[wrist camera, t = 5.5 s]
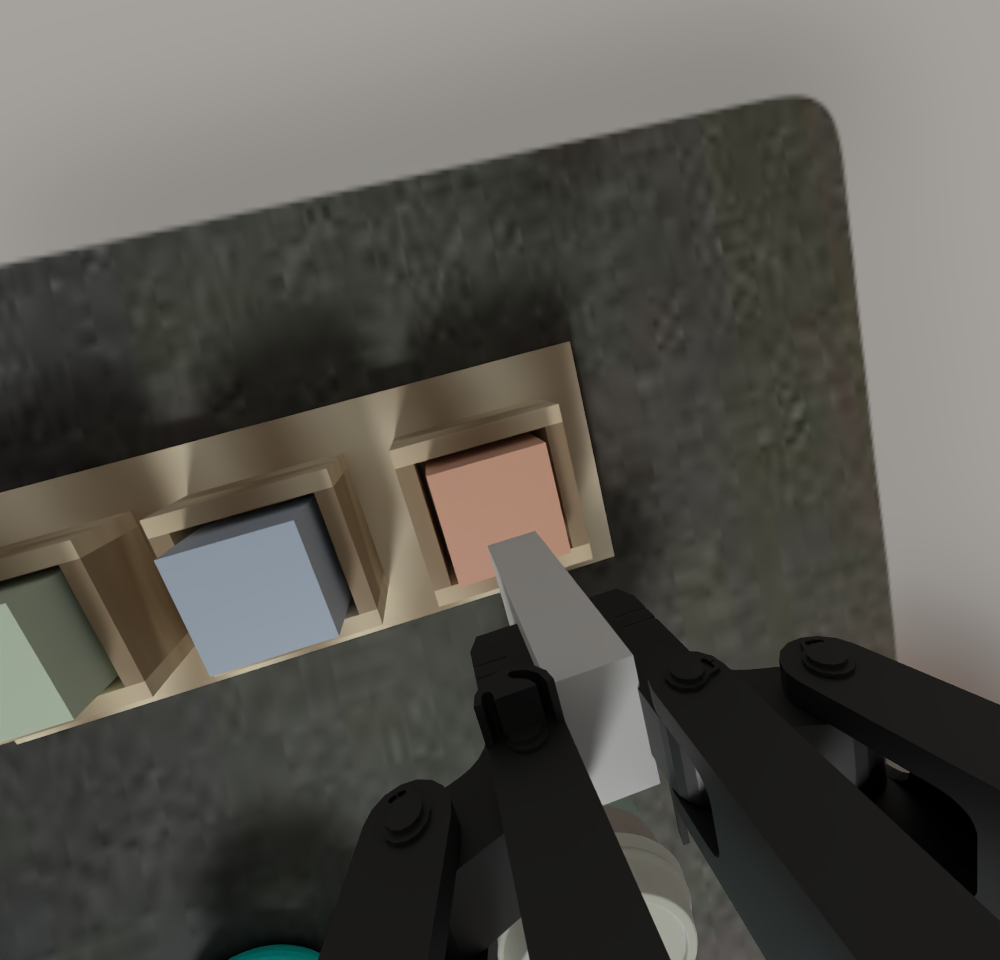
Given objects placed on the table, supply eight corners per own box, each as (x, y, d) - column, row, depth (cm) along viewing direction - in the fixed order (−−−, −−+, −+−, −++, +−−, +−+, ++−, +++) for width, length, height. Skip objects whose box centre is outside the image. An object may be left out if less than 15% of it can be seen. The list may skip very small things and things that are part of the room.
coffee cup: (461, 693, 28) (489, 914, 17) (598, 667, 30) (712, 857, 18) (477, 808, 30) (511, 1076, 19) (604, 780, 32) (710, 1015, 20)
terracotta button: (453, 552, 24) (460, 587, 20) (425, 458, 23) (425, 476, 19) (547, 524, 24) (571, 552, 21) (524, 430, 23) (545, 442, 19)
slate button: (246, 623, 22) (210, 676, 18) (202, 525, 21) (154, 560, 17) (353, 591, 23) (339, 636, 19) (316, 493, 21) (293, 520, 17)
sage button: (19, 693, 21) (-70, 764, 17) (-41, 594, 20) (-152, 648, 16) (135, 657, 22) (73, 719, 18) (83, 559, 20) (5, 603, 16)
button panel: (32, 730, 25) (-61, 816, 20) (-99, 519, 22) (-246, 560, 17) (607, 549, 28) (646, 587, 23) (564, 342, 25) (598, 335, 20)
